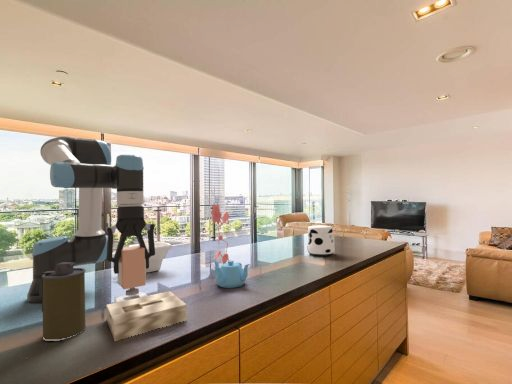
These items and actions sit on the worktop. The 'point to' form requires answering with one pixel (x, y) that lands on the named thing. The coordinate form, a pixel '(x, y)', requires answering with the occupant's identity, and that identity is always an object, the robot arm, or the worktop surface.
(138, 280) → the stud block
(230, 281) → the teapot
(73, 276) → the canister
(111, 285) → the worktop surface
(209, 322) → the worktop surface
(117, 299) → the frame
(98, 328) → the worktop surface
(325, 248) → the milk container
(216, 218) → the pink leafy branch
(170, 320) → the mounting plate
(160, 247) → the bowl
